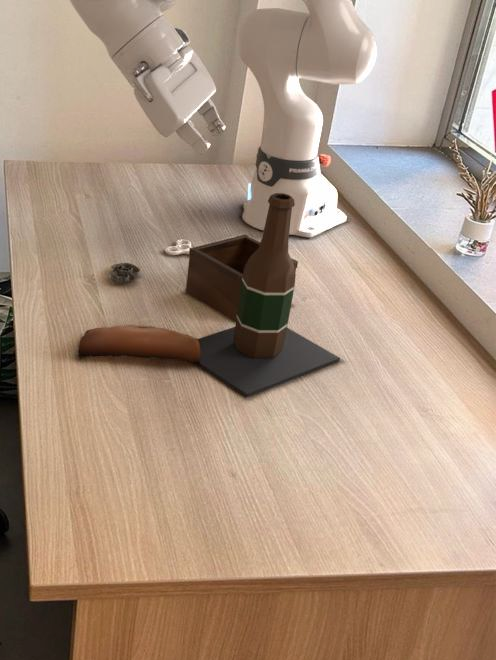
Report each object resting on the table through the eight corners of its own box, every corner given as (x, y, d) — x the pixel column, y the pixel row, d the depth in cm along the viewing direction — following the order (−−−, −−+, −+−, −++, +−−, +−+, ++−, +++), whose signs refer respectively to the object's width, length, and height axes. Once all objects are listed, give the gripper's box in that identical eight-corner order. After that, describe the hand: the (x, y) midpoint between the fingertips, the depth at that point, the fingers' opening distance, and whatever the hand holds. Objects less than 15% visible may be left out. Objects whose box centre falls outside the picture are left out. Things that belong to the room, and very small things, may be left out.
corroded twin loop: (105, 284, 160) (105, 279, 160) (113, 265, 167) (113, 260, 166) (134, 288, 160) (134, 283, 160) (141, 269, 167) (142, 264, 166)
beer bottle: (279, 363, 143) (307, 210, 129) (228, 354, 143) (251, 200, 130) (285, 340, 149) (312, 191, 135) (236, 331, 150) (258, 183, 136)
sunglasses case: (200, 336, 146) (203, 313, 140) (198, 377, 143) (202, 355, 137) (82, 330, 145) (80, 307, 139) (78, 370, 142) (76, 349, 136)
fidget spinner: (180, 241, 179) (180, 237, 178) (210, 250, 177) (211, 246, 176) (162, 253, 174) (162, 248, 173) (193, 262, 171) (194, 258, 171)
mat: (266, 319, 156) (267, 316, 155) (339, 361, 146) (340, 357, 146) (173, 349, 144) (174, 346, 144) (246, 397, 135) (247, 394, 134)
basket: (238, 276, 169) (245, 234, 164) (290, 305, 161) (298, 261, 156) (184, 292, 161) (189, 248, 157) (236, 323, 154) (242, 277, 149)
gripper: (146, 56, 117) (213, 149, 121) (187, 27, 134) (245, 110, 137) (109, 87, 120) (176, 177, 124) (154, 56, 137) (212, 136, 141)
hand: (213, 141), depth 131 cm, fingers open, 8 cm apart
